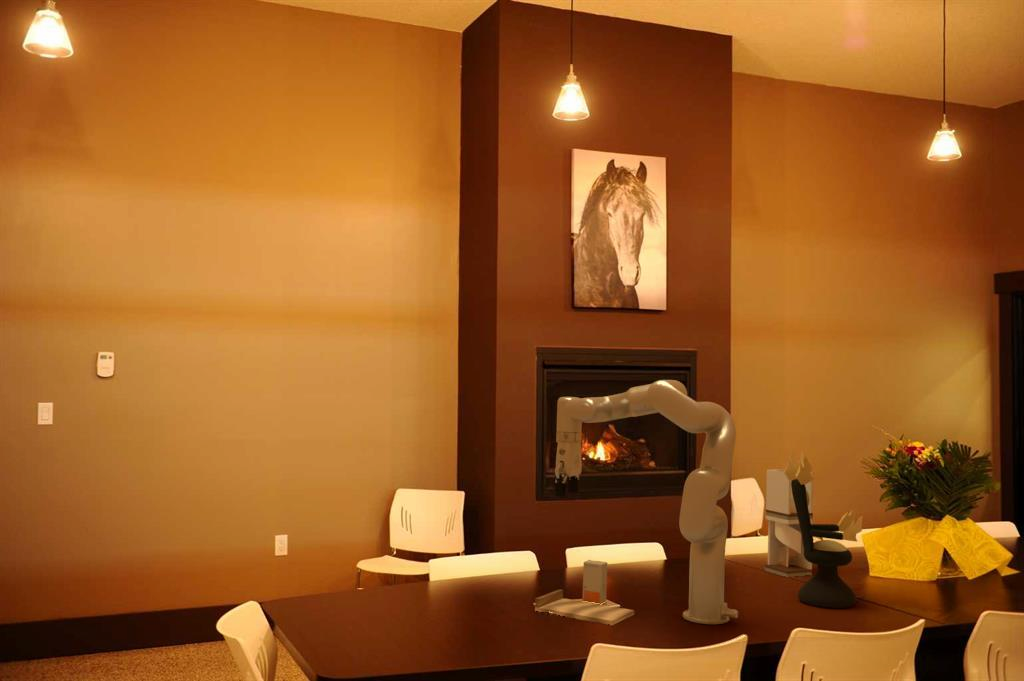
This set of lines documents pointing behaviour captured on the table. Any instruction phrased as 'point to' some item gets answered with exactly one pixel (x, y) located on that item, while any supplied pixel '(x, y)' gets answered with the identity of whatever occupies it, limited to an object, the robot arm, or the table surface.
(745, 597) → the table surface
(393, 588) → the table surface
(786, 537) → the white pedestal stand
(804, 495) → the black chair
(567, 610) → the board
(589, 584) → the skincare box
